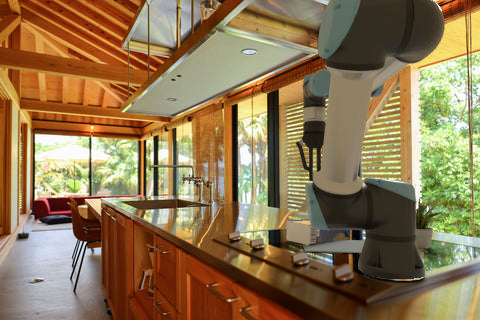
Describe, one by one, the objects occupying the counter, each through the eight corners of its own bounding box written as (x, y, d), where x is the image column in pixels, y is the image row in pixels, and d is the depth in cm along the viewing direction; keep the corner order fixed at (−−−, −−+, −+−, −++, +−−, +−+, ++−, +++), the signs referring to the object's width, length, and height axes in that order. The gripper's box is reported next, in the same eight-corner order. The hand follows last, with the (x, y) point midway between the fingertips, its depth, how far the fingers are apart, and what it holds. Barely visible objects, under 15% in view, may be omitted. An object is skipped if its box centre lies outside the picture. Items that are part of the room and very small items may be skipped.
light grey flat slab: (378, 254, 102) (378, 252, 102) (304, 252, 105) (304, 250, 105) (364, 241, 120) (364, 240, 120) (301, 240, 122) (301, 238, 122)
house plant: (417, 253, 103) (417, 200, 103) (386, 243, 116) (386, 196, 117) (455, 250, 107) (454, 198, 107) (420, 241, 120) (420, 195, 121)
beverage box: (286, 239, 120) (327, 234, 133) (309, 245, 112) (350, 239, 124) (286, 220, 121) (327, 217, 134) (309, 224, 112) (350, 220, 125)
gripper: (332, 122, 117) (333, 190, 116) (294, 123, 119) (294, 190, 118) (336, 119, 110) (336, 192, 109) (295, 120, 111) (295, 191, 111)
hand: (314, 191), depth 113 cm, fingers closed
